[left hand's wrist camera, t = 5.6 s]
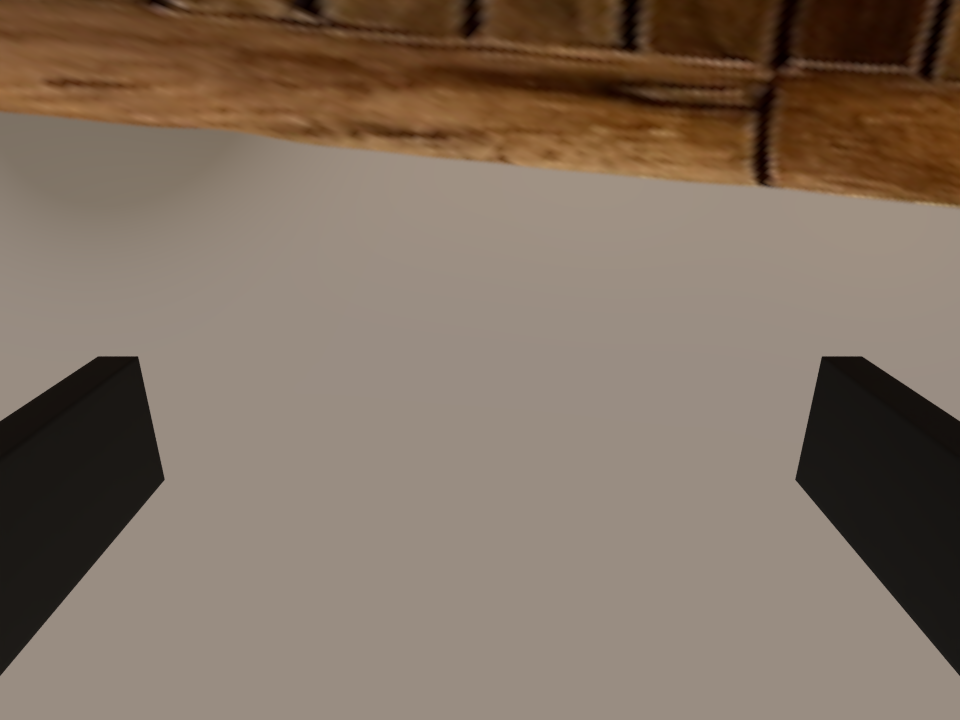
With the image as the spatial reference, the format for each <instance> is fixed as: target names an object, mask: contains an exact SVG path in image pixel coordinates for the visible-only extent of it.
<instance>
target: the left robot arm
mask: <svg viewBox="0 0 960 720" xmlns="http://www.w3.org/2000/svg"><path fill="white" fill-rule="evenodd" d="M795 480H796V481H797V482H798V483H799V485H800V486H801V487H802V488H803V489H804V491H805V492H806V493H807V494H808V495H809V496H810V498H811V499H812V500H813V501H814V502H815V504H816V505H817V506H818V507H819V508H820V510H821V511H822V512H823V513H824V514H825V516H826V517H827V518H828V519H829V520H830V522H831V523H832V524H833V525H834V526H835V528H836V529H837V530H838V531H839V532H840V533H841V535H842V536H843V537H844V538H845V539H846V541H847V542H848V543H849V544H850V545H851V547H852V548H853V549H854V550H855V551H856V553H857V554H858V555H859V556H860V557H861V559H862V560H863V561H864V562H865V563H866V565H867V566H868V567H869V568H870V569H871V570H872V572H873V573H874V574H875V575H876V576H877V578H878V579H879V580H880V581H881V582H882V584H883V585H884V586H885V587H886V588H887V590H888V591H889V592H890V593H891V594H892V596H893V597H894V598H895V599H896V600H897V601H898V603H899V604H900V605H901V606H902V607H903V609H904V610H905V611H906V612H907V613H908V615H909V616H910V617H911V618H912V619H913V621H914V622H915V623H916V624H917V625H918V627H919V628H920V629H921V630H922V631H923V632H924V634H925V635H926V636H927V637H928V638H929V640H930V641H931V642H932V643H933V644H934V646H935V647H936V648H937V649H938V650H939V652H940V653H941V654H942V655H943V656H944V658H945V659H946V660H947V661H948V662H949V664H950V665H951V666H952V667H953V668H954V669H955V671H956V672H957V673H958V674H959V675H960V421H958V420H957V419H955V418H954V417H952V416H951V415H949V414H948V413H946V412H945V411H943V410H942V409H940V408H939V407H937V406H936V405H934V404H933V403H931V402H930V401H928V400H927V399H925V398H924V397H922V396H921V395H919V394H918V393H916V392H915V391H913V390H912V389H910V388H909V387H907V386H906V385H904V384H903V383H901V382H900V381H898V380H897V379H895V378H894V377H892V376H890V375H889V374H888V373H886V372H885V371H883V370H881V369H880V368H879V367H877V366H875V365H874V364H872V363H871V362H869V361H868V360H866V359H865V358H863V357H822V359H821V364H820V368H819V373H818V377H817V382H816V387H815V391H814V396H813V400H812V405H811V410H810V415H809V419H808V424H807V428H806V433H805V438H804V442H803V447H802V451H801V456H800V461H799V465H798V470H797V475H796V479H795ZM163 481H164V475H163V470H162V465H161V461H160V456H159V452H158V447H157V442H156V438H155V433H154V428H153V424H152V419H151V414H150V410H149V405H148V401H147V396H146V391H145V387H144V382H143V377H142V373H141V368H140V364H139V359H138V357H97V358H95V359H94V360H92V361H91V362H89V363H88V364H86V365H85V366H83V367H82V368H80V369H78V370H77V371H75V372H74V373H72V374H71V375H69V376H68V377H66V378H65V379H63V380H62V381H60V382H59V383H57V384H56V385H54V386H53V387H51V388H50V389H48V390H47V391H45V392H44V393H42V394H41V395H39V396H38V397H36V398H35V399H33V400H32V401H30V402H29V403H27V404H26V405H24V406H23V407H21V408H20V409H18V410H17V411H15V412H14V413H12V414H11V415H9V416H8V417H6V418H5V419H3V420H2V421H0V675H1V674H2V673H3V672H4V671H5V669H6V668H7V667H8V666H9V665H10V663H11V662H12V661H13V660H14V659H15V658H16V656H17V655H18V654H19V653H20V652H21V650H22V649H23V648H24V647H25V646H26V644H27V643H28V642H29V641H30V640H31V638H32V637H33V636H34V635H35V634H36V632H37V631H38V630H39V629H40V628H41V627H42V625H43V624H44V623H45V622H46V621H47V619H48V618H49V617H50V616H51V615H52V613H53V612H54V611H55V610H56V609H57V607H58V606H59V605H60V604H61V603H62V601H63V600H64V599H65V598H66V597H67V595H68V594H69V593H70V592H71V591H72V590H73V588H74V587H75V586H76V585H77V584H78V582H79V581H80V580H81V579H82V578H83V576H84V575H85V574H86V573H87V572H88V570H89V569H90V568H91V567H92V566H93V564H94V563H95V562H96V561H97V560H98V558H99V557H100V556H101V555H102V554H103V552H104V551H105V550H106V549H107V548H108V547H109V545H110V544H111V543H112V542H113V541H114V539H115V538H116V537H117V536H118V535H119V533H120V532H121V531H122V530H123V529H124V528H125V526H126V525H127V524H128V523H129V522H130V520H131V519H132V518H133V517H134V516H135V514H136V513H137V512H138V511H139V510H140V508H141V507H142V506H143V505H144V504H145V502H146V501H147V500H148V499H149V498H150V496H151V495H152V494H153V493H154V492H155V490H156V489H157V488H158V487H159V486H160V485H161V483H162V482H163Z"/></svg>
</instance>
